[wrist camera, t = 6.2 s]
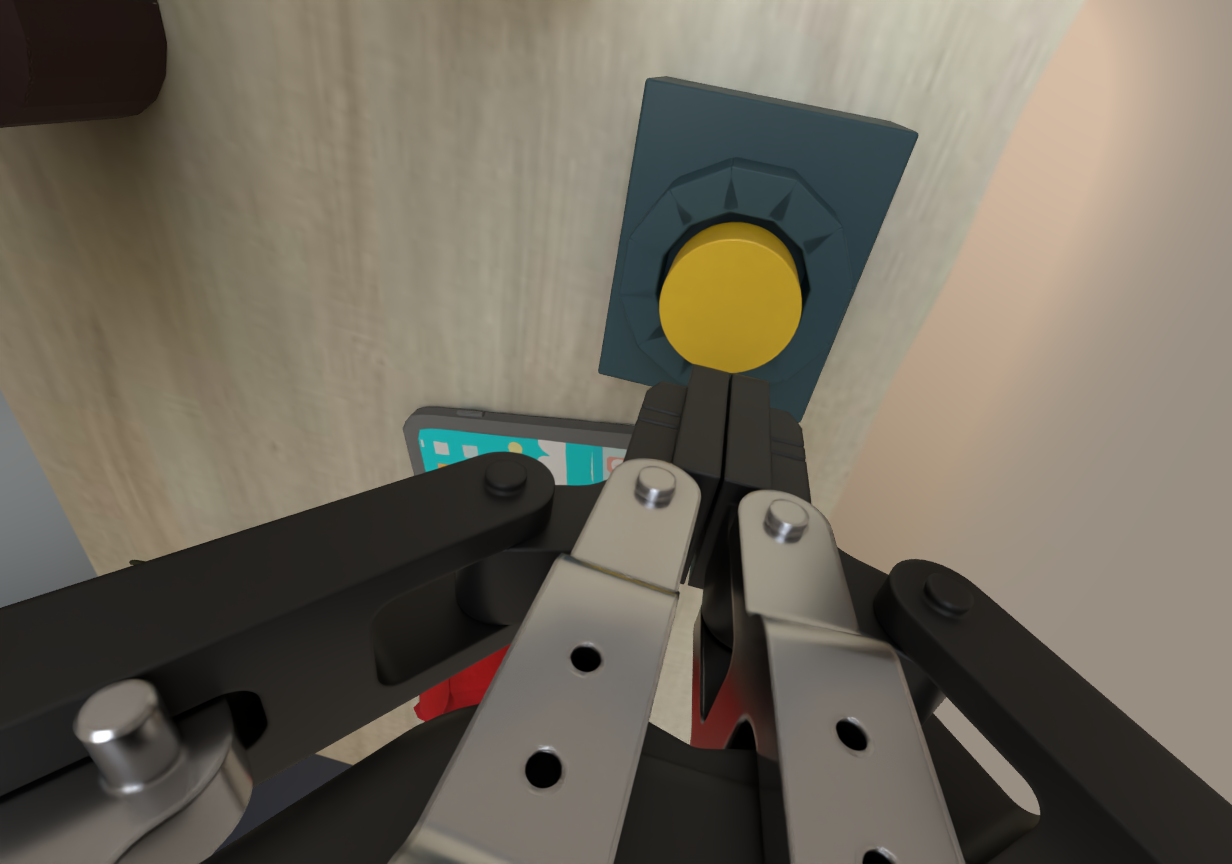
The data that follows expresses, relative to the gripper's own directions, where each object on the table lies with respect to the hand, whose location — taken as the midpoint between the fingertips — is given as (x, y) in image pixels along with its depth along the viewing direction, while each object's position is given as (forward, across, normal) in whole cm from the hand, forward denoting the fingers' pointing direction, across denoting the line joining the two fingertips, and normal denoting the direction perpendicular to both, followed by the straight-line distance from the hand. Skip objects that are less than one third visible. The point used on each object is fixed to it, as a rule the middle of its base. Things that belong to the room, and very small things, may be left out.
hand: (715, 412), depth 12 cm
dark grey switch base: (+13, 0, 0) cm, 13 cm away
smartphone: (+14, +6, +14) cm, 21 cm away
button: (+8, 0, 0) cm, 8 cm away
